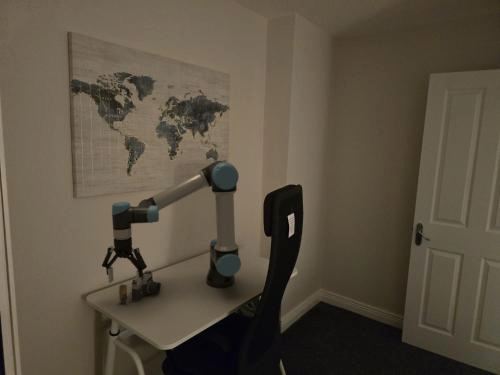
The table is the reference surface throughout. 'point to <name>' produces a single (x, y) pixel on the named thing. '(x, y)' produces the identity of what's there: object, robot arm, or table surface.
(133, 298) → the camera
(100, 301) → the table surface
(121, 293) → the brown rounded cylinder
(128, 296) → the strip
